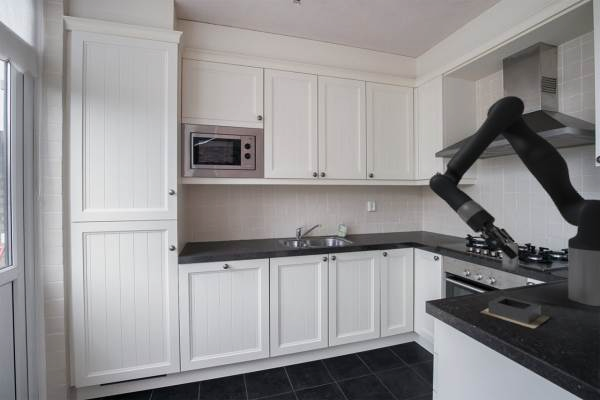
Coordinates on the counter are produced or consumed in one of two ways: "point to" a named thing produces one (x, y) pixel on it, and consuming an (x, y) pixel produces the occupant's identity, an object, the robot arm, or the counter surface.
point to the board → (532, 325)
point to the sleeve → (515, 309)
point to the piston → (506, 261)
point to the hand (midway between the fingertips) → (517, 256)
